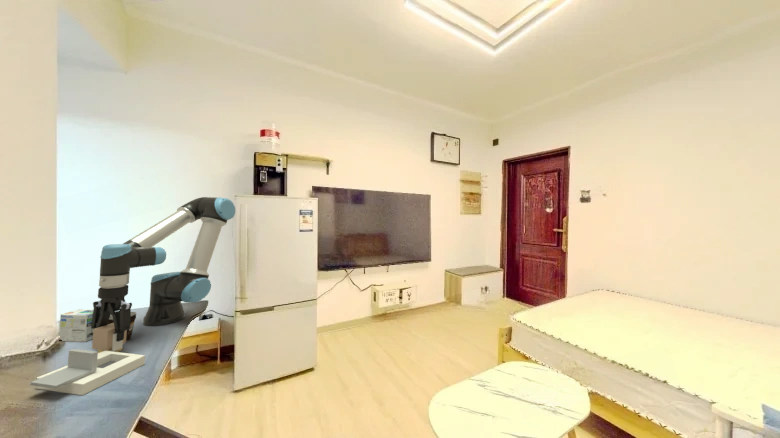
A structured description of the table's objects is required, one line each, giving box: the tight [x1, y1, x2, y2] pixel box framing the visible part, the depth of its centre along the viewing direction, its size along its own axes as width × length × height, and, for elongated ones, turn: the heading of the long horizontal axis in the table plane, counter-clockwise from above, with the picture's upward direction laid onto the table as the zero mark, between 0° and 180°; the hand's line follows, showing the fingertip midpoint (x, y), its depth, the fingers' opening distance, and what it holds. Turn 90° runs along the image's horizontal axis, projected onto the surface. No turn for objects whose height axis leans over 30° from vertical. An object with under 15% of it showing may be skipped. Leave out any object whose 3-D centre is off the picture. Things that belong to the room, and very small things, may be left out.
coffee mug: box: [107, 311, 137, 342], centre depth 103 cm, size 12×9×10 cm
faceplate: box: [34, 350, 146, 396], centre depth 79 cm, size 16×16×3 cm
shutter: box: [29, 348, 98, 389], centre depth 72 cm, size 8×8×6 cm
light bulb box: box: [58, 308, 94, 343], centre depth 102 cm, size 11×7×11 cm, turn 92°
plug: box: [91, 323, 127, 353], centre depth 92 cm, size 6×6×10 cm
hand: (109, 348), depth 92 cm, fingers open, 6 cm apart
